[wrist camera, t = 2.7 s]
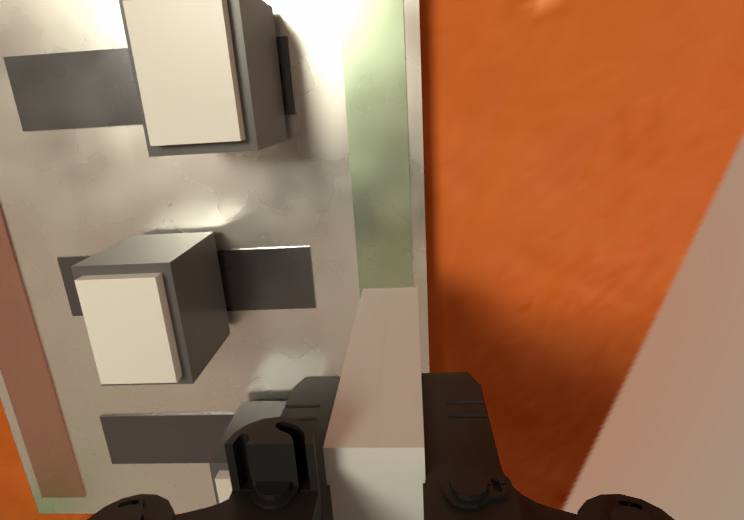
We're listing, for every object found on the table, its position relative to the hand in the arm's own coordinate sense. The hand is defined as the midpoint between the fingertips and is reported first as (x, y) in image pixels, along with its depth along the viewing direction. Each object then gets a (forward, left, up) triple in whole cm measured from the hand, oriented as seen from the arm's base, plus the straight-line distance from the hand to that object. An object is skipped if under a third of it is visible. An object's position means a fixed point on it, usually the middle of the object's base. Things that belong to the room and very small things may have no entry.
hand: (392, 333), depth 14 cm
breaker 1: (-5, +7, -4) cm, 10 cm away
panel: (-8, 0, -6) cm, 10 cm away
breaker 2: (-8, 0, -4) cm, 9 cm away
